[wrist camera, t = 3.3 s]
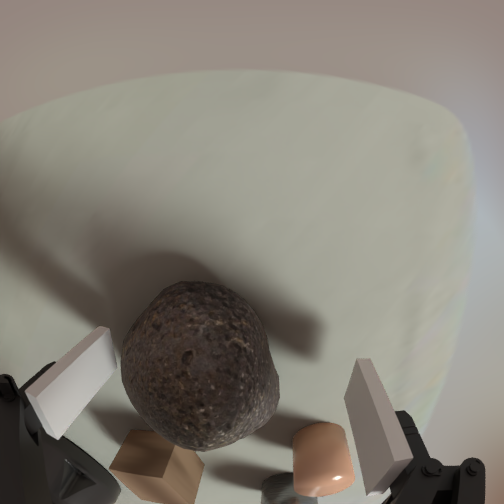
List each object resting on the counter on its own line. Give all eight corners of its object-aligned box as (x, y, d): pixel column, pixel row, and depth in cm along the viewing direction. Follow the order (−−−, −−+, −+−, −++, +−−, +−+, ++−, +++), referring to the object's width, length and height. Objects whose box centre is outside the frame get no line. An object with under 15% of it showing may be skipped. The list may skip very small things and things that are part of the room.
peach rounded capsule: (288, 452, 17) (289, 497, 13) (297, 422, 16) (300, 471, 12) (337, 451, 17) (344, 494, 13) (351, 421, 16) (363, 467, 12)
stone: (220, 383, 21) (320, 439, 13) (121, 415, 15) (196, 516, 7) (210, 263, 20) (331, 274, 12) (92, 275, 14) (145, 314, 7)
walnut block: (157, 461, 19) (141, 499, 14) (131, 428, 18) (108, 468, 13) (204, 464, 19) (193, 507, 14) (180, 430, 18) (162, 478, 13)
